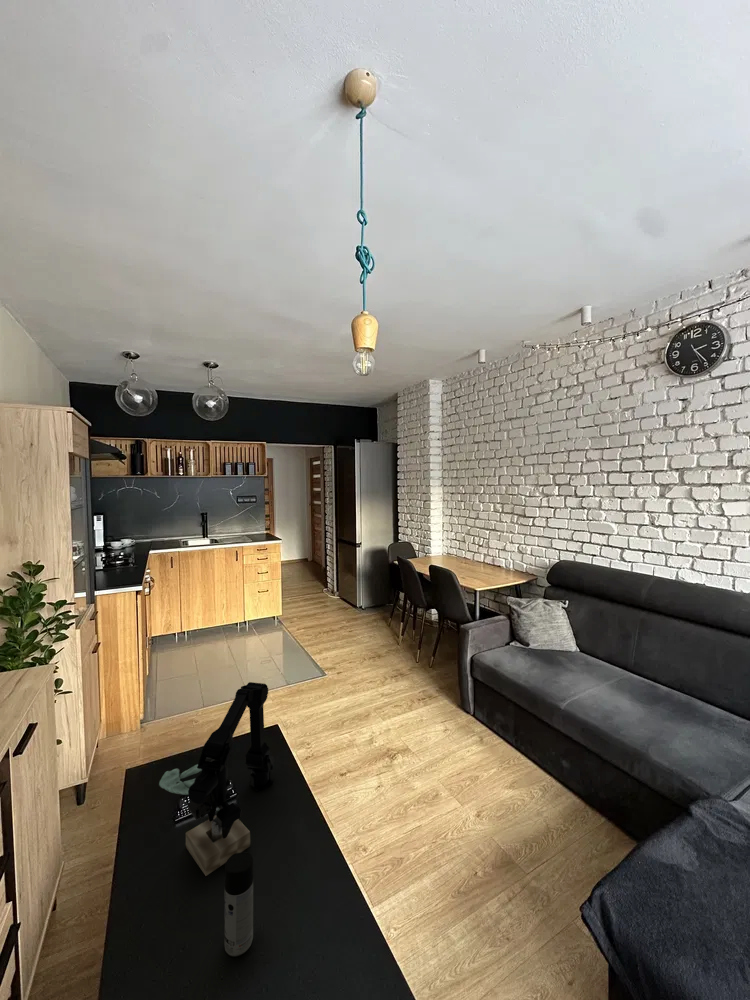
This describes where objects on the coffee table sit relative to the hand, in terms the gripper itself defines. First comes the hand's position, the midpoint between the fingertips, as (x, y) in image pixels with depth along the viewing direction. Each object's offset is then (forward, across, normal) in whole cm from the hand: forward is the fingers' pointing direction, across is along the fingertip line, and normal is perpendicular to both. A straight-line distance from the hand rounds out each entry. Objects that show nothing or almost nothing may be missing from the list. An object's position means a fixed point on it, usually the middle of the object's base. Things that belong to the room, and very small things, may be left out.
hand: (218, 829), depth 129 cm
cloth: (+6, -37, +6) cm, 38 cm away
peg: (+6, 0, 0) cm, 6 cm away
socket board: (+6, 0, 0) cm, 6 cm away
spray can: (+6, +30, -9) cm, 32 cm away
